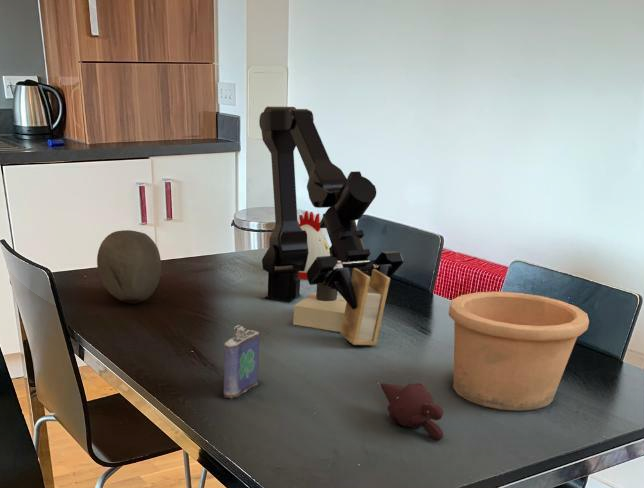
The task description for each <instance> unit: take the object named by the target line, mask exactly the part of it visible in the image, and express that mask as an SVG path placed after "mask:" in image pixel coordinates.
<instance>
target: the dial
mask: <svg viewBox="0 0 644 488" xmlns="http://www.w3.org/2000/svg"><path fill="white" fill-rule="evenodd" d="M315 292H316V298H317V299H319V300H323V301H333V300H336V299H337V295H338V291H337V290H336V289H334V290H332V289H331V288H330V287H325V286H324V285H323V284H316V291H315Z"/></svg>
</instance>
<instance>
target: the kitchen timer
mask: <svg viewBox="0 0 644 488" xmlns="http://www.w3.org/2000/svg"><path fill="white" fill-rule="evenodd" d="M298 219H299V222H298V224H299V226H300V227H301V229H302V230H305V231H306V233H307V245H308V251H309V254H308V258H307V262H306V266H305V270H304V271H299V274H298V277H299V278H300V280H308V279H307V271H308V269H309V268H310V266H311V265H312V263H313V262H314V260H315V259H316V257H321V256H330V253H329V252H330V250H329V248H330V247H331V246H330V245H329V242H328V240H327V238H326V236H325V234H323V232H322V230H321V228H320V213H316V215H315V218H314V212H313V211H310V212H308V210H305V211H304V216H303V214H299V215H298Z"/></svg>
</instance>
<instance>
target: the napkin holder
mask: <svg viewBox="0 0 644 488" xmlns="http://www.w3.org/2000/svg"><path fill="white" fill-rule="evenodd" d="M370 278H371V280H370ZM351 280H352V285H353V289H354V293H355V297H356V303H357V308H356V309H354V310H353V309H352V308H351V307H350V305H349V304H348V303H346V308H345V313H344V319H343V324H342V329H341V332H340V335H341V336H342V337H343V338H344V339H346V340H347V341H348V342H349V343H351V344H352V345H353V346H377V342H378V339H379V333H380V329H381V324H382V321H383V320H382V319H383V315H384V310H385V306H386V301H387V296H388V292H389V287H390V284H391V283H390V282H391V277H387V276H386V275H384V274H382V273H381V272H379V271H378V270H375V269H373V270H372V275H371V277H369V275H368V274H366V273H365V272H364V271H363V272H361V271H360V270H358V269H357V268H353V271H352V277H351ZM369 283H370V284H369Z"/></svg>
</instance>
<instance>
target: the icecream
mask: <svg viewBox="0 0 644 488" xmlns="http://www.w3.org/2000/svg"><path fill="white" fill-rule="evenodd" d="M379 387H380V388H381V390H382V392H383V393H384V396H385V397H386V399H387V401H388V405H387V409H386V410H387V411H388V418H390V419H391V420H392V421H393V423H394V424H396V425H401V426H402V427H407V428H411V429H418V428H421V427H423V428H424V430H425V432H427V434H428V435H429V436H430V437H431V438H433V439H434V440H436V441H441V440H442V439H443V438H444V431H443V429H442V428H441V426H440V425H439V424H437V423H436V422H435V421H439V420H441V419H442V418H443V416H444V414H445V412H444V409H443V408H442V405H440V404H438V403H435V401H434V399H433V396H432V394H431V392H430V391H429V390H428V389H427V387H425V386H424V385H423V383H420V382H416V383H408V384H406V385H399V384H393V383H386V382H381V383H380V386H379ZM433 420H434V421H433Z"/></svg>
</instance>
